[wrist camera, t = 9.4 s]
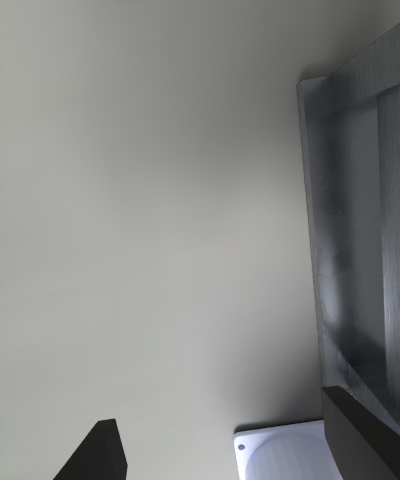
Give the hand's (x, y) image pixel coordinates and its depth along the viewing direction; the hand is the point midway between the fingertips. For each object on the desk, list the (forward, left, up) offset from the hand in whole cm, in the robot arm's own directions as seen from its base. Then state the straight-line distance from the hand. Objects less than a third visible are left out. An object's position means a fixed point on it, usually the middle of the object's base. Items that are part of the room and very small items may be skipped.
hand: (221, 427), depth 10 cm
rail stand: (+3, -10, -10) cm, 15 cm away
